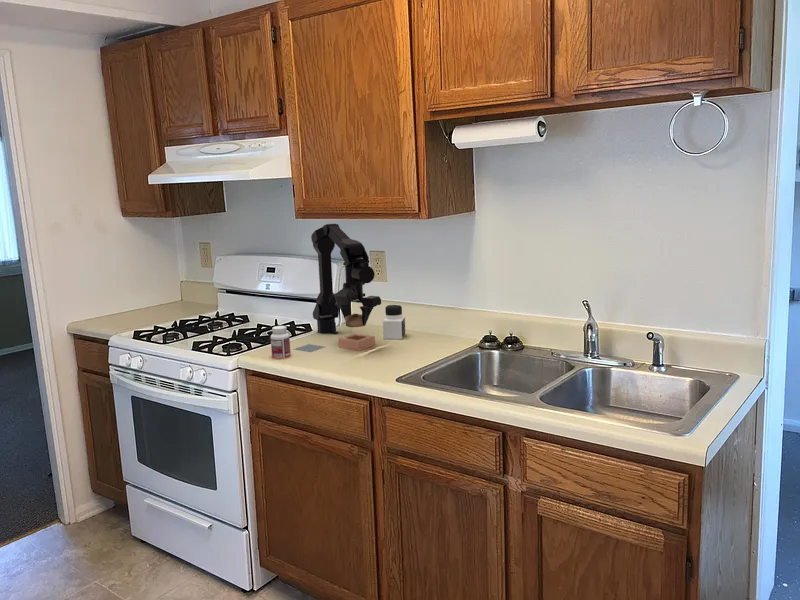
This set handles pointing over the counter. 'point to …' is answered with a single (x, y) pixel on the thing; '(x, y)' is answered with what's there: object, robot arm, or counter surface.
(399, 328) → the medicine bottle
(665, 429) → the counter surface
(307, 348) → the coaster mat
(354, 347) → the salmon pink square box
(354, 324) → the walnut lid
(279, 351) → the pill bottle
